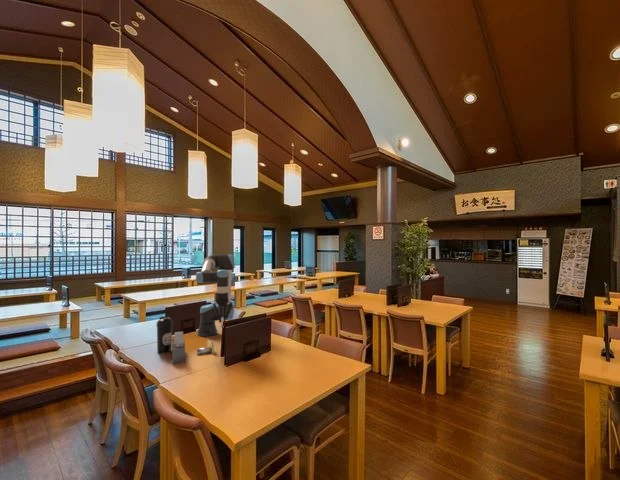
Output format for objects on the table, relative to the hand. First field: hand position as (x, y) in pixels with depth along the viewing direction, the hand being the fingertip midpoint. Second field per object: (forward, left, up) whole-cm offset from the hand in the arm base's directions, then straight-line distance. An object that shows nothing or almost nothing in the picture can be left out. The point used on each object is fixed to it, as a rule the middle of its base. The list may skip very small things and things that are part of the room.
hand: (222, 327), depth 209 cm
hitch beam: (+22, -17, -16) cm, 32 cm away
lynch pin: (+9, -7, -16) cm, 20 cm away
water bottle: (+18, -34, -17) cm, 42 cm away
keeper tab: (+25, -12, -6) cm, 29 cm away
